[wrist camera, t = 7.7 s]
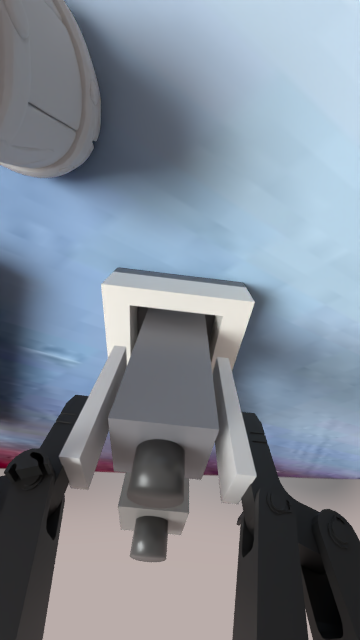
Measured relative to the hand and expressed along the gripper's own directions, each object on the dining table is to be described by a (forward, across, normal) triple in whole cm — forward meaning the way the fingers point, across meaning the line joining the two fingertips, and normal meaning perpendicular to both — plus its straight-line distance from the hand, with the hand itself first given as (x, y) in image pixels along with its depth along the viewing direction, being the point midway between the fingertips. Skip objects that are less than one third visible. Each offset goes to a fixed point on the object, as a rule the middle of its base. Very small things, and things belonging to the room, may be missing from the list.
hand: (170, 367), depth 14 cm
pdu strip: (+6, 0, -4) cm, 7 cm away
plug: (+5, 0, 0) cm, 5 cm away
